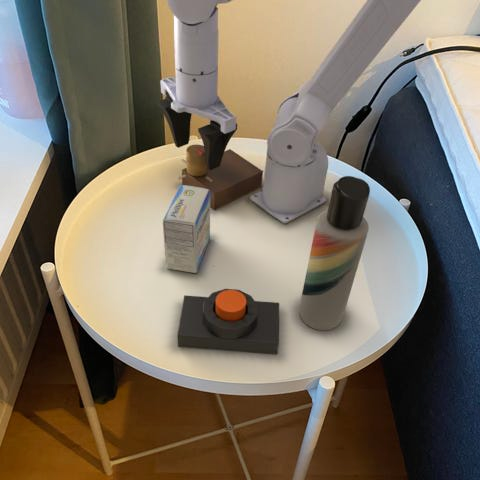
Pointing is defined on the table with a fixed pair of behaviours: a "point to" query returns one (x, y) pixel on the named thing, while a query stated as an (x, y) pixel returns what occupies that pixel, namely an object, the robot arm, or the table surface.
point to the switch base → (229, 326)
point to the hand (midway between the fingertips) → (197, 155)
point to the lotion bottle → (335, 254)
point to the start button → (230, 305)
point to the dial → (196, 160)
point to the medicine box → (187, 228)
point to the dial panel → (226, 179)
